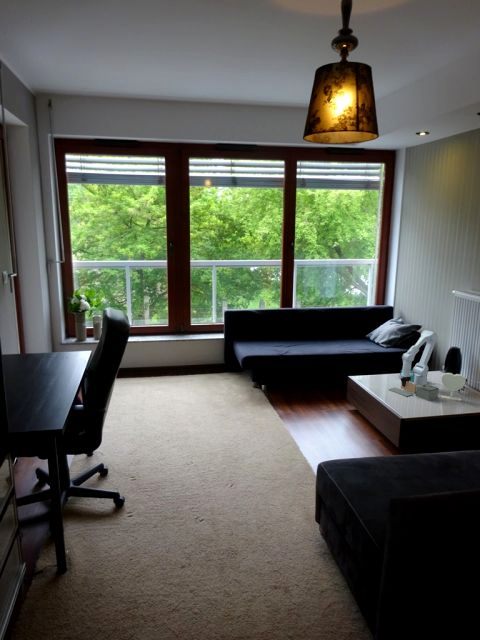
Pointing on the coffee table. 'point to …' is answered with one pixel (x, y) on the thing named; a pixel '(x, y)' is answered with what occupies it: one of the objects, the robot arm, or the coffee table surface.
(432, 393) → the dispenser
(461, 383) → the heart sculpture
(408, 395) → the slate mat
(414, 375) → the teal l-shaped bracket
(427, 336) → the robot arm
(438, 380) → the coffee table surface
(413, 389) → the tall tan wooden post
